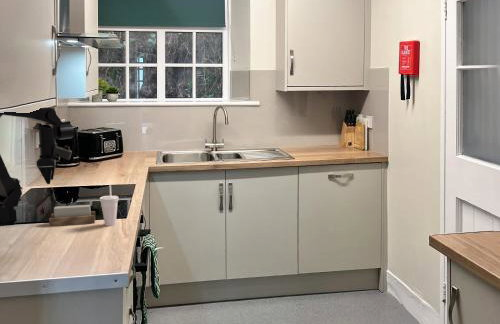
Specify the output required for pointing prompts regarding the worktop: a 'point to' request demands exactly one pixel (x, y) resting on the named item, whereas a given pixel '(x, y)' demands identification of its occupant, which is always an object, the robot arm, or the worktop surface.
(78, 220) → the wooden block
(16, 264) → the worktop surface
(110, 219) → the smoothie
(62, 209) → the clay strip
